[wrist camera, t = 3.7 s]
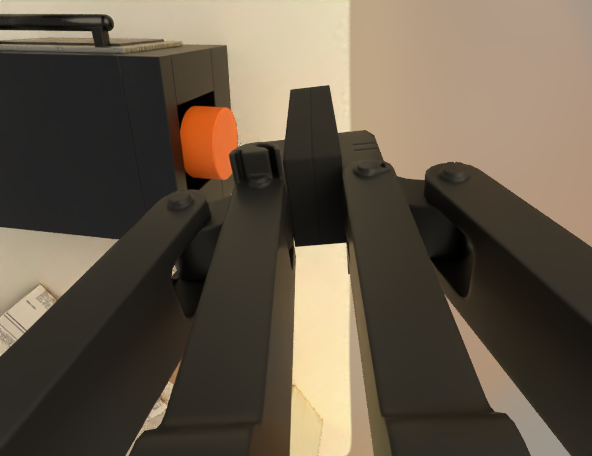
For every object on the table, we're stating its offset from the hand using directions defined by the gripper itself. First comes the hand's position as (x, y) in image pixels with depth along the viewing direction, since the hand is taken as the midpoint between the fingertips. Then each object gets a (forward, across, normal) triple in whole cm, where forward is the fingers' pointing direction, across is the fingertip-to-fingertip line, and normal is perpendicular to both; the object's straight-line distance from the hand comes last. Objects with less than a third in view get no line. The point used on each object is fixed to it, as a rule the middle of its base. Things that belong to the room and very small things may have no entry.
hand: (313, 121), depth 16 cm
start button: (+14, -7, -5) cm, 16 cm away
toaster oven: (+19, -15, -4) cm, 25 cm away
